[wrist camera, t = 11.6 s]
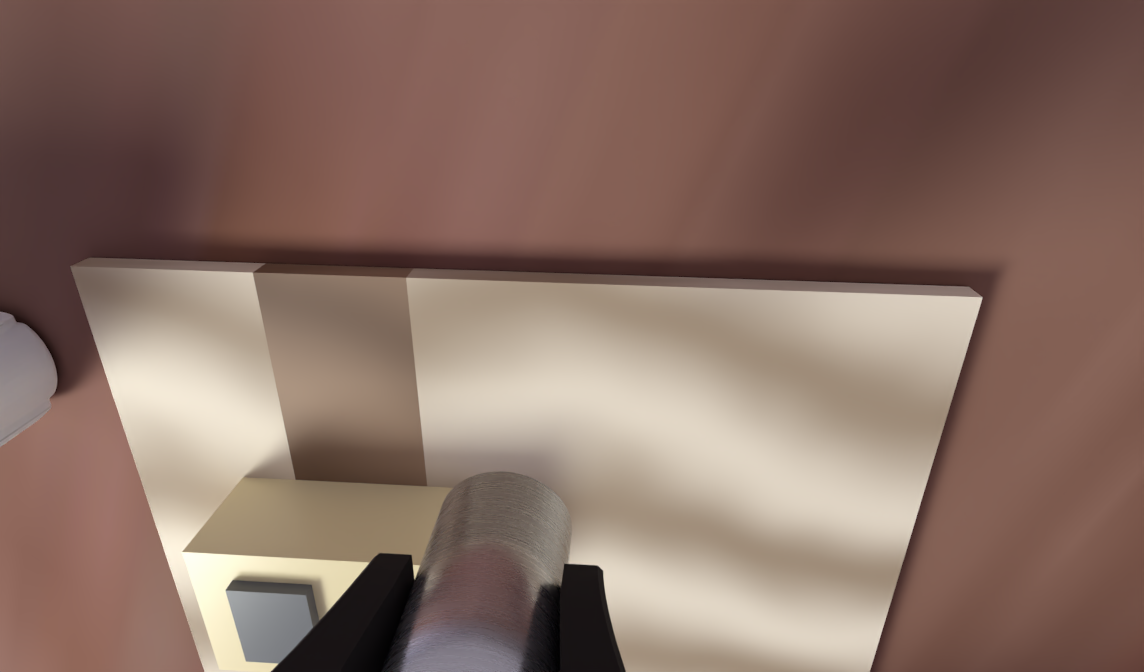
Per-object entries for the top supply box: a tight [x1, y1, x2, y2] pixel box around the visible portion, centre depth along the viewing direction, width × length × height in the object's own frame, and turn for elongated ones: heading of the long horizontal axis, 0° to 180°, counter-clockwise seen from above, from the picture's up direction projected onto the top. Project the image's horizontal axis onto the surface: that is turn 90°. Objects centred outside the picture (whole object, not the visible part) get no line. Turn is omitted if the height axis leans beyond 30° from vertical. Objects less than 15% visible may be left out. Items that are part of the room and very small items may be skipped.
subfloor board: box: [70, 257, 983, 672], centre depth 23 cm, size 18×26×1 cm
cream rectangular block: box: [182, 477, 453, 672], centre depth 22 cm, size 5×8×4 cm, turn 89°
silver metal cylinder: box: [381, 471, 572, 672], centre depth 11 cm, size 3×3×6 cm
